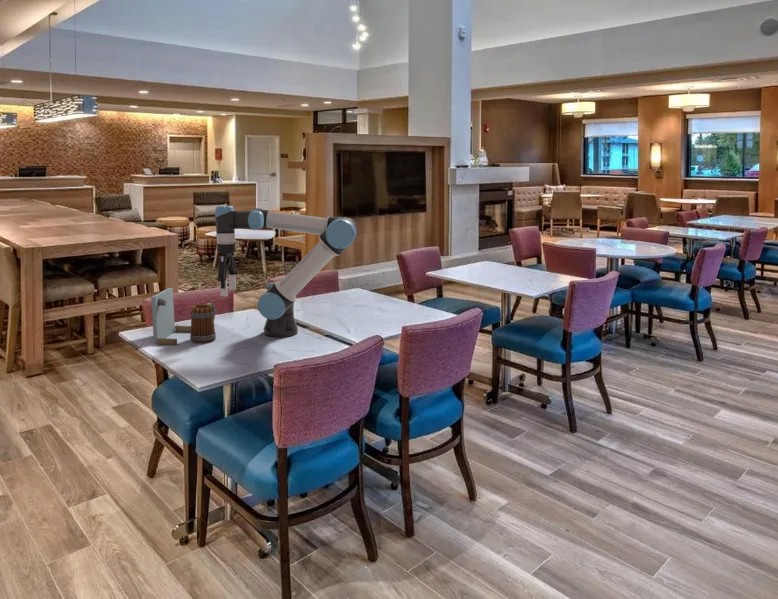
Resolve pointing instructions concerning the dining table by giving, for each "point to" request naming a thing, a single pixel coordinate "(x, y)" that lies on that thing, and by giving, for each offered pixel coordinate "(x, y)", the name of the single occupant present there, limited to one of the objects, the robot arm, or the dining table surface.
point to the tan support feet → (173, 341)
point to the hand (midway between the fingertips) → (228, 292)
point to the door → (163, 314)
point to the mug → (203, 323)
